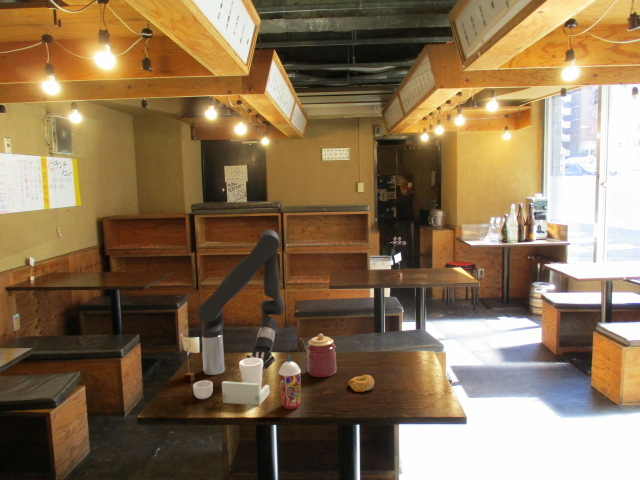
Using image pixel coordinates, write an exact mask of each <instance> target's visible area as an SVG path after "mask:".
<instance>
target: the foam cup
mask: <svg viewBox="0 0 640 480" xmlns="http://www.w3.org/2000/svg"><path fill="white" fill-rule="evenodd" d="M238 363H239V365H238V367H239V370H240V376H241V379H242V382H244V383H260V390H261V389H262V379H263V370H262V368H263V360H262V359H260V358H254V357H253V358H247V357H246V358H243V359H242V360H240V361H239V362H238Z"/></svg>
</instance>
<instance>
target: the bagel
mask: <svg viewBox="0 0 640 480" xmlns="http://www.w3.org/2000/svg"><path fill="white" fill-rule="evenodd" d="M348 385H349V387H351V388H350V389H351V390H353V391H354V392H360V393H363V392H366V391H367V392H368V391H370V390H372V389H373V388H374V385H375V380H374V378H373V376H371V375H369V374H363V375H360V376H358V375H357V376H355V377H353V378H351V379H350V380H348Z"/></svg>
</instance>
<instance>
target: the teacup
mask: <svg viewBox="0 0 640 480" xmlns="http://www.w3.org/2000/svg"><path fill="white" fill-rule="evenodd" d="M213 387H214V385H213V381H211V380H207V379H205V380H199V381H196V382H194V383H193V385H192V388H193V394H194V396H195V398H196V399H199V400H206V399H208V398H209V397H211V396H212V394H213V390H214V388H213ZM209 399H210V398H209Z"/></svg>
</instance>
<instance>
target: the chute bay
mask: <svg viewBox="0 0 640 480" xmlns="http://www.w3.org/2000/svg"><path fill="white" fill-rule="evenodd" d="M270 393H271V391H270V384H265V385H264V386H263V387H261V390H260V383H244V382H243V381H242V382H241V381H240V382H239V381H227V380H226V381H225V380H223V381H222V382H221V394H222V403H223V404H225V403H226V404H235V405H236V404H238V405H248V406H249V405H250V406H251V405H252V406H260V405H261V404H262V403H263V402H264V401H265V400H266V398H267V397H268V396H269V395H270Z"/></svg>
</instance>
